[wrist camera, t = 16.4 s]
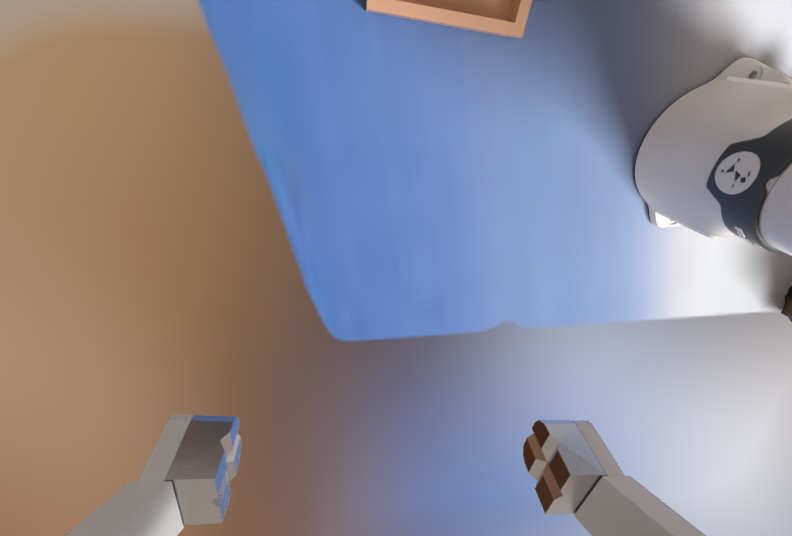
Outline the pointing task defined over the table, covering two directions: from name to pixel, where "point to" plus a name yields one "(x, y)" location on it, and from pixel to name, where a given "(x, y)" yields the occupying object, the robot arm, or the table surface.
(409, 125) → the table surface
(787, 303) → the brown owl figurine
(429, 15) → the terracotta tray
